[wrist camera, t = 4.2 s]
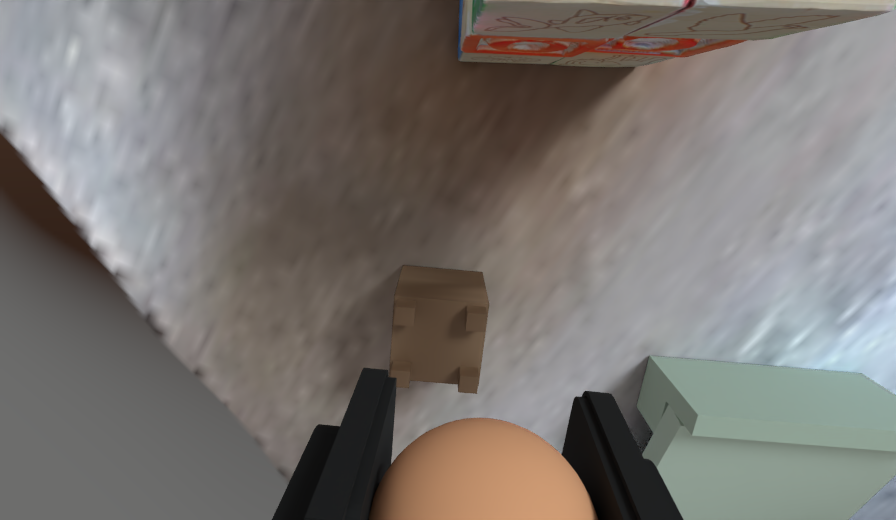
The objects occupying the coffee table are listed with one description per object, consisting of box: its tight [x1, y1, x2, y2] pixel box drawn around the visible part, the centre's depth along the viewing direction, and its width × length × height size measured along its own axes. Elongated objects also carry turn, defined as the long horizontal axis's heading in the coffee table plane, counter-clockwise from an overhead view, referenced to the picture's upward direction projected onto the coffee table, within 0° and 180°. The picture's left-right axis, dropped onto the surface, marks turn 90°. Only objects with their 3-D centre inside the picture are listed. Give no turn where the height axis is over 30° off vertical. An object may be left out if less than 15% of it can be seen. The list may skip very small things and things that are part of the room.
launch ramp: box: [637, 356, 896, 520], centre depth 18 cm, size 9×8×4 cm
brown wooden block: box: [389, 265, 489, 394], centre depth 16 cm, size 3×3×4 cm
